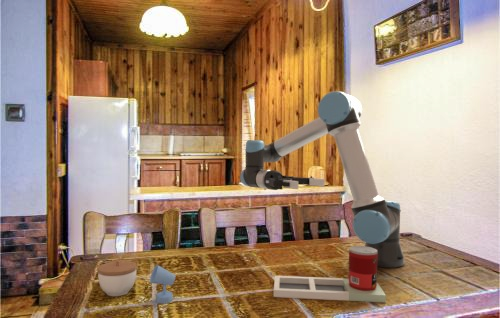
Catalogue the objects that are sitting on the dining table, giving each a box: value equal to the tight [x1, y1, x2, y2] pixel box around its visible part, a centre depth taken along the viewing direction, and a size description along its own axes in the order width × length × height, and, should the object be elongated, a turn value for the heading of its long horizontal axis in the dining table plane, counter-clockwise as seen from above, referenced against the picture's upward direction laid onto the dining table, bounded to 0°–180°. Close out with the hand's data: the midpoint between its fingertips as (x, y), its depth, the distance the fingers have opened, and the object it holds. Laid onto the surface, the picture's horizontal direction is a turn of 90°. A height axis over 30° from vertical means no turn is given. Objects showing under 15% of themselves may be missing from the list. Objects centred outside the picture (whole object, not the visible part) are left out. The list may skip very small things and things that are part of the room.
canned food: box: [348, 245, 378, 291], centre depth 108 cm, size 8×8×11 cm
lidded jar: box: [97, 259, 138, 297], centre depth 108 cm, size 11×11×9 cm
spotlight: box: [149, 264, 176, 304], centre depth 102 cm, size 5×10×7 cm
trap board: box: [273, 275, 387, 303], centre depth 109 cm, size 31×12×2 cm, turn 84°
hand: (311, 184), depth 128 cm, fingers open, 13 cm apart
